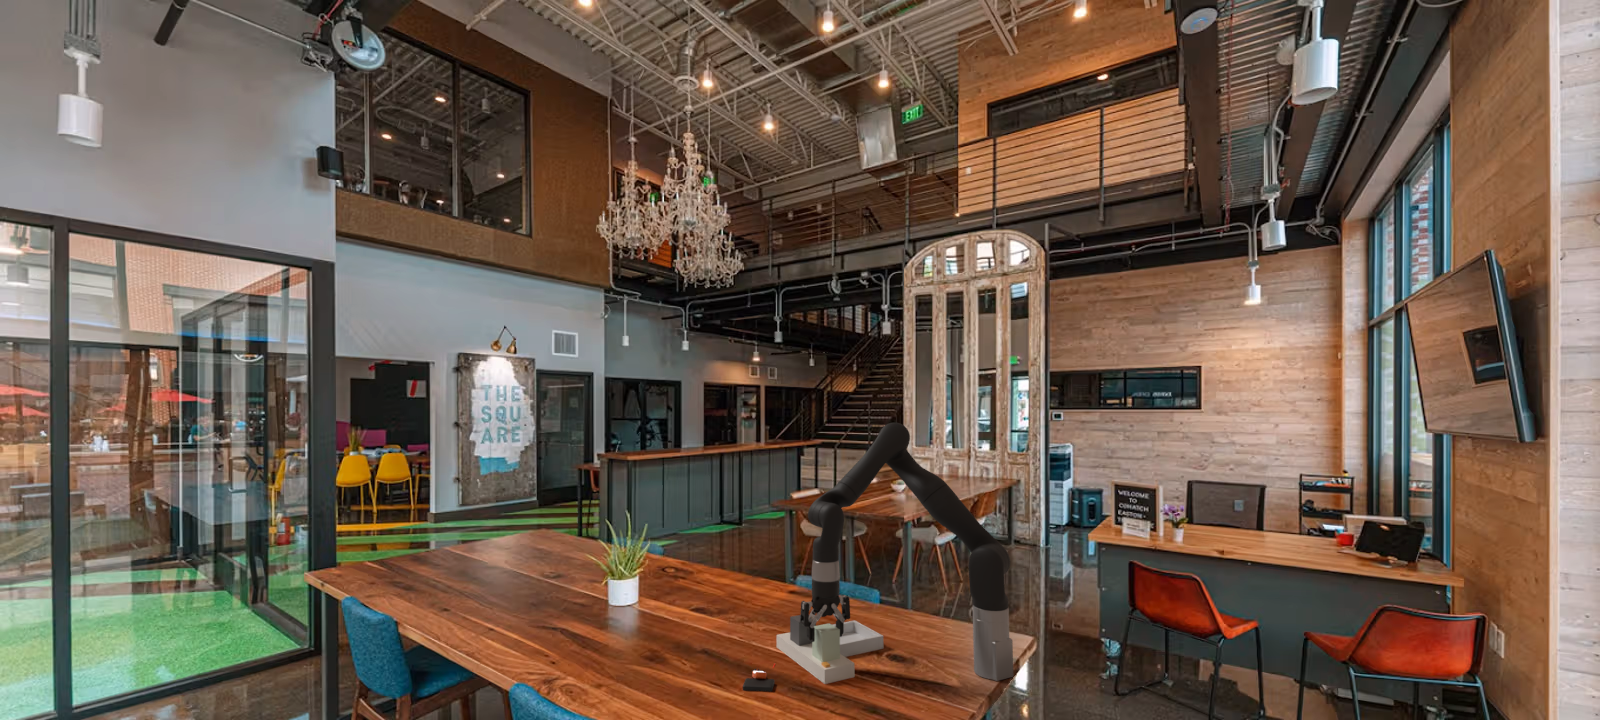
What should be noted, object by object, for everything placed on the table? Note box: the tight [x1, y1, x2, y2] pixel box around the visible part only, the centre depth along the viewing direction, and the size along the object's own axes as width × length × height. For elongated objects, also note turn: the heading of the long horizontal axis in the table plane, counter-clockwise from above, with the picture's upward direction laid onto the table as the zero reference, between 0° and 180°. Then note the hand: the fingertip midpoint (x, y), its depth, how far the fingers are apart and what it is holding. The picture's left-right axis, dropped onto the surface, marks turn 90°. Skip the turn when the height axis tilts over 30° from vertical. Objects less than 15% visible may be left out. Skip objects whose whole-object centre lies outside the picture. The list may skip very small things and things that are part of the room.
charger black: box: [789, 614, 817, 646], centre depth 177 cm, size 5×5×9 cm
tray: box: [832, 619, 884, 658], centre depth 184 cm, size 15×15×4 cm
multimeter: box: [742, 662, 776, 693], centre depth 162 cm, size 18×12×3 cm, turn 170°
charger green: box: [812, 622, 840, 662], centre depth 166 cm, size 5×5×10 cm
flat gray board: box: [776, 632, 856, 685], centre depth 172 cm, size 28×9×4 cm, turn 28°
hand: (825, 638), depth 167 cm, fingers open, 8 cm apart
